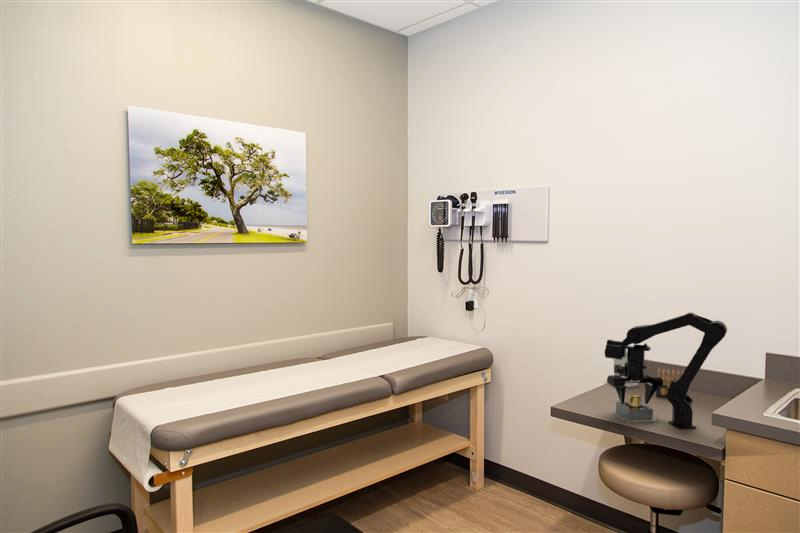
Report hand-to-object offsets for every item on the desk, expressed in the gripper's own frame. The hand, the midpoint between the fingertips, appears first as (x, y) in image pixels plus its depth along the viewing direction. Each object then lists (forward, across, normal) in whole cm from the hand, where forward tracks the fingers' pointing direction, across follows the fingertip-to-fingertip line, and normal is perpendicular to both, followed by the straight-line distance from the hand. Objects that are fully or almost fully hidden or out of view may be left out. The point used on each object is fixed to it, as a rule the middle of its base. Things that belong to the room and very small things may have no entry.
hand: (634, 403), depth 192 cm
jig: (+5, 0, 0) cm, 5 cm away
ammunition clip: (+5, -28, -22) cm, 36 cm away
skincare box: (+5, -20, -43) cm, 48 cm away
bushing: (+4, 0, 0) cm, 4 cm away
